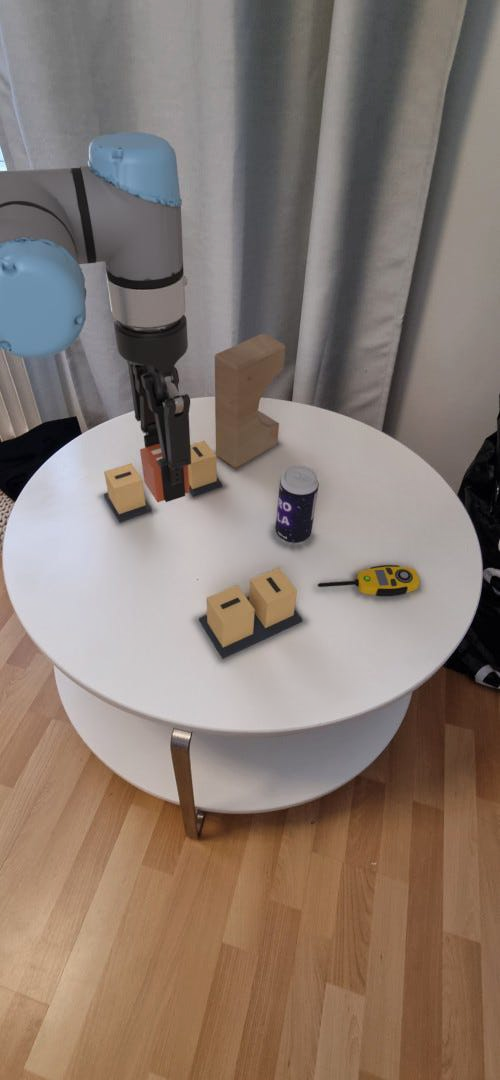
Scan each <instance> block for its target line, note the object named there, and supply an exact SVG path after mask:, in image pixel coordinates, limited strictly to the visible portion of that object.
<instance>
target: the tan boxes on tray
mask: <svg viewBox="0 0 500 1080" xmlns="http://www.w3.org/2000/svg"><path fill="white" fill-rule="evenodd" d="M248 593H249V595H248V596H246V595H245V593H244V592H243V591H242V589H241V588H240V586H239V585H238V584H236V585H234V586H231V587H229V588H226V589H224V590H222V591H220V592H217V593H215V594H213V595H210V596H207V597H206V614H205V615H203V616H201V617H199V618H198V621H199V623H200V625H201V626H202V628H203V630H204V631H205V633H206V634H207V636H208V638H209V639H210V641H211V643H212V644H213V646H214V648H215V650H217V653H218V654H219V657H221V659H222V660H224V659H227V658H228V657H231V656H232V655H235V654H237V653H239V652H241V651H243V650H246V649H248V648H250V647H252V646H254V645H256V644H258V643H261V642H262V641H264V640H267V639H269V638H271V637H273V636H275V635H277V634H280V633H282V632H284V631H286V630H288V629H291V628H293V627H295V626H297V625H299V624H301V623H303V618H302V617H301V616H300V614H299V613H298V611H297V610H296V604H297V603H296V601H297V595H298V590H297V588H296V587H295V586H294V585H293V583H292V582H291V581H290V579H289V578H288V577H287V575H286V574H285V573H284V572H283V570H282V569H281V568H280V567H277V568H275V569H273V570H270V571H267V572H264V573H262V574H260V575H257V576H255V577H252V578H251V579H249V591H248Z"/></svg>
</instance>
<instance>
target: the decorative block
mask: <svg viewBox="0 0 500 1080" xmlns="http://www.w3.org/2000/svg"><path fill="white" fill-rule="evenodd" d="M285 355H286V345H285V344H284V343H282V342H281V341H279V340H277V339H275V338H273V337H271V336H269V335H267V334H266V333H263V332H262V333H260V334H258V335H256V336H253V337H252V338H249V339H247V340H244V341H242V342H240V343H238V344H236V345H233V346H231V347H229V348H227V349H224V350H222V351H220V352H218V353H215V355H214V411H215V412H214V415H215V416H214V417H215V418H214V419H215V420H214V421H215V455H216V457H219V458H220V459H222V460H223V461H224V462H225V463H227V464H228V465H230V466H231V467H233V468H234V469H237V468H238V467H240V466H242V465H244V464H245V463H247V462H249V461H251V460H253V459H254V458H256V457H257V456H259V455H261V454H262V453H264V452H266V451H267V450H269V449H271V448H273V447H274V446H276V445H278V441H279V429H280V428H279V427H280V423H279V422H278V421H276V420H274V419H273V418H271V417H270V416H268V415H267V414H265V413H263V412H262V411H260V410H259V408H260V407H259V406H260V401H261V399H262V397H263V395H264V393H265V391H266V389H267V388H268V386H269V385H270V384H271V382H272V381H273V380H274V379H275V377H277V376H278V375H279V374H280V373H282V372H283V371H284V367H285Z"/></svg>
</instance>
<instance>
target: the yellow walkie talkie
mask: <svg viewBox="0 0 500 1080" xmlns="http://www.w3.org/2000/svg"><path fill="white" fill-rule="evenodd" d="M420 583H421V581H420V576H419V574H418V573H417V570H416V569H414V568H412V567H409V566H400V565H397V564H395V565H394V564H384V565H376V566H372V567H369V568H366V569H364V570H360V571H358V573H357V575H356V578H355V579H354V580H347V581H345V580H344V581H332V582H331V581H330V582H319V583H318V584H317V587H318V588H327V587H328V588H329V587H342V586H355V587H357V589H358V591H359V592H360V593H362V594H366V595H370V596H371V595H373V596H375V597H397V596H402V595H406V594H407V593H411V592H414V591H416V590H417V589H418V588H419V586H420Z"/></svg>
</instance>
